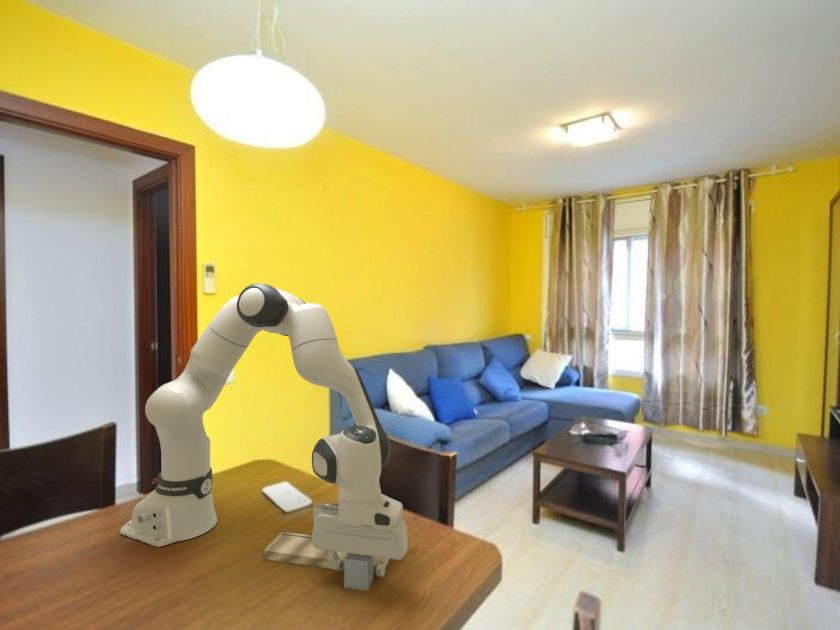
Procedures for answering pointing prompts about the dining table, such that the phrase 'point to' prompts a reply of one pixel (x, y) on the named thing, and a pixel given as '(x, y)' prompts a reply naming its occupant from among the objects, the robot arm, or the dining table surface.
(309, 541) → the board
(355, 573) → the grey mallet
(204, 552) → the dining table surface
